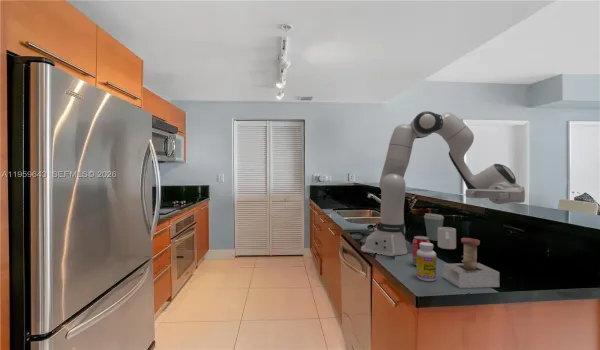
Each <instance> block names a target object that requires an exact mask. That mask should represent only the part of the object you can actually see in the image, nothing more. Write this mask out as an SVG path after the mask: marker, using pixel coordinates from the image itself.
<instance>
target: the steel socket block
mask: <svg viewBox="0 0 600 350" xmlns="http://www.w3.org/2000/svg"><path fill="white" fill-rule="evenodd" d="M442 278H443V279H445V280H447V281H448V282H449V283H451V284H453V285H454V286H455V287H457V288H458V289H469V288H470V289H471V288H472V289H474V288H500V287H501V286H500V271H498V270H496V269H493V268H492V267H489V266H487V265H486V264H485V265H484V264H482V263H480V262H477V271H466V270H465V269H463V262H462V263H461V262H460V263H459V262H458V263H442Z"/></svg>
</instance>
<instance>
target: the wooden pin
mask: <svg viewBox="0 0 600 350" xmlns="http://www.w3.org/2000/svg"><path fill="white" fill-rule="evenodd" d="M460 240H461V241H460V242H461V244H463V256H464V259H462V260H463V262H462V263H463V269H465V270H466V271H477V263H478V261H477V260H478V259H477V258H478V246H479V245H480V243H481V240H479V239H477V238H471V237H462V238H460Z"/></svg>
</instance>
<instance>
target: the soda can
mask: <svg viewBox="0 0 600 350" xmlns="http://www.w3.org/2000/svg"><path fill="white" fill-rule="evenodd" d="M422 242H426V243H431V240H429V238H428V237H427V236H424V235H416V236H415V235H414V236H413V240H412V247H411V248H412V263H413V265H414V266H415V265H416V266H415V267H417V251H418V250H419V249H420V246H419V243H422Z"/></svg>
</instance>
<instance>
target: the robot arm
mask: <svg viewBox="0 0 600 350" xmlns="http://www.w3.org/2000/svg"><path fill="white" fill-rule="evenodd" d="M392 131H393V132H392V134H391V138H390V140H389V144H388V149H387V154H386V157H385V161H384V164H383V168H382V172H381V176H380V180H379V183H378V184H379V188H380V190H381V192H380V193H381V196H380V197H381V198H380V221H377V223H376V230H374V231H373V232H371V234H369V235H368V236H367V237H366V240H365V243H364V244H363V245H362V246H361V247H360V251H361V252H364V253H370V254H375V253H377V254H376V255H381V254H382V255H381V256H387V257H394V256H400V255H407V254H408V249H407V245H406V237H405V235H406V223H405V219H404V217H405V216H404V215H405V212H404V211H405V199H406V198H405V197H406V184H407V183H406V181H405V179H404V178H405V174H406V171H407V169H408V167H409V164H410V159H411V155H412V151H413V145H414V142H415V140H416V139H423V138H427V137H428V136H431V135H432V134H437V135H439V136H440V137H441V138H442V139H443V140H444V141H445V142H446V143H447V145H448V148H449V152H448V157H449V159H450V161H451V162H452V165H454V167H455V169H456V171H457V172H458V174H459V176H460V177H461V179H462V180H463V182H464V184H465V186H466V189H465V197H466V198H469V199H470V198H471V199H485V200H486V199H487V200H489V201H490V202H492V203H493V204H495V205H504V204H509V203H514V204H516V203H517V204H519V203H520V204H522V203H525V198H526V192H525V191H526V190H525V187H524V186H521V185H520V184H518V183H517V182H516V180H517V179H516V176H515V174H514V173H513V171H512V170H511V168H509V167H507V166H506V165H504V164H501V163H494V164H492V165H490V166H488V167H486V168H485V169H484V170H482V171H480V172H478V173H476V174H473V173H472V171H471V170H470V168H469V166H468V165H467V163H466V162H465V155H466V154H467V152H468V151H469V149H470V148H471V146H472V145H473V143H474V139H475V136H474V132H473V131H472V129H470V128H469V126H468V125H467V124H465V122H464V121H462V119H460V118H459V117H458V116H457V115H455V114H453V113H451V112H445V113H443V114H439V113H435V112H433V111H429V110H427V111H425V110H424V111H422V112H420V113H418V114H417V115H416V116H415V117H414V118H413V120H412V121H411V122H410V124H398V125H397V126H396V127H395V128H394V129H393V130H392Z"/></svg>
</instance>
